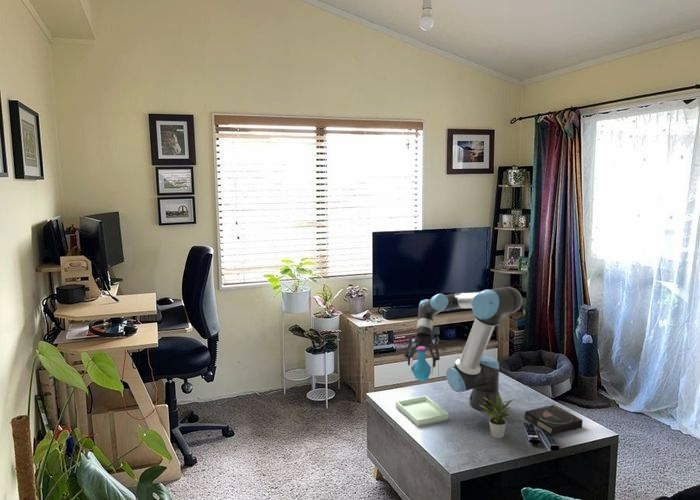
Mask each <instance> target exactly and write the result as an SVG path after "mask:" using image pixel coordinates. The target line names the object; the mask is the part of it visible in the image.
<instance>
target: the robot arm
mask: <svg viewBox="0 0 700 500" xmlns="http://www.w3.org/2000/svg"><path fill="white" fill-rule="evenodd" d="M522 304H523V297H522V294H521V292H520V291H519V290H518V289H517V288H514V287H511V286H503V287H498V288H492V289H483V290H482V291H478V292H476V291H475V292H456V293H450V294H446V295H445V294H443V293H437V294H435V295H434V296H432V297H431V298H430V299H427V298H426V299H422V300H420V302H419V304H418V314H417V323H416V334H415V335H416V336H415V338H412V337H409V338H408V339H409V341H408V345H407V348H406V350H405V353H404V357H405V359H407V365H408V366H409V369H408V371H409V374H412V373H413V371H412V367H413V361H414V359H413V357H414V356H415V354H416V353H417V352H418V351H417V347H419V346H424V347H425V348H426V349H427V350H428V352H429V354H430V356H431V359H430V367H431V370H430V375H433V374H434V372H433V371H434V368H436V364H437V363H436V362H437V361H440V360H441V358H440V353H439V347H438V343H439V341H438V339H433V338H432V337H433V325H434V316H436V315H437V314H439V313H440V312H445V311H451V310H457V309H471V312H472V313H473V317H474V318H475V319H474V322H473V323H472V327H471V329H470V332H469V335H468V337H467V341H466V343H465V345H464V348H463V350H462V353H461V356H459V357H457V358H456V360H455V362H454V365H453V366H450V367H448V368H447V369H446V372H445V378H446V381H447V383H448V386H449V387H450V389H452V391H454V392H456V393H462V392H467V391H469V390H472V391H471V394H470V395H469V399H468V401H469V402H468V404H469V405H470V407H471V408H473V409H475V410H477V411H485V410H484V409H483V408H482V407H481V406H484V407H485V408H487V409H488V410H490V411H491V412H494V410H493V408H492V407H493V406H491V405H492V404H490V403H489V402H488V400H487V399H489V400H490V401H491V402H492V401H493V402H494V403H493V402H492V403H493V405H494V404H495V405H496V400H497V395H498V397H499V404H500V402H501V399H502V397H501V393H500V391H499V386H500V385H499V384H500V381H499V377H500V363H499V361H498V359H496V358H494V357H491V356H488V355H484V354H485V352H486V348H487V346H488V344H489V342H490V339H491V337H492V334H493V332H494V329H495V327H497V326H499V325H500V324H501V322H502V319H503V317H504V316H506V315H510V314H514V313H516V312H517V311H519V309H521V306H522ZM414 343H416V344H415V345H414V347H413V344H414ZM431 344H433V346H434V349H435V353H436V355H435V354H434V351H433V350H432V347H431ZM412 347H413V349H412ZM411 349H412V350H411ZM483 397H484V398H483ZM485 398H487V399H485ZM484 403H486V404H487V405H486V404H484ZM480 405H481V406H480ZM495 405H494V406H495ZM496 407H497V405H496ZM496 407H495V408H496ZM492 410H493V411H492Z"/></svg>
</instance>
